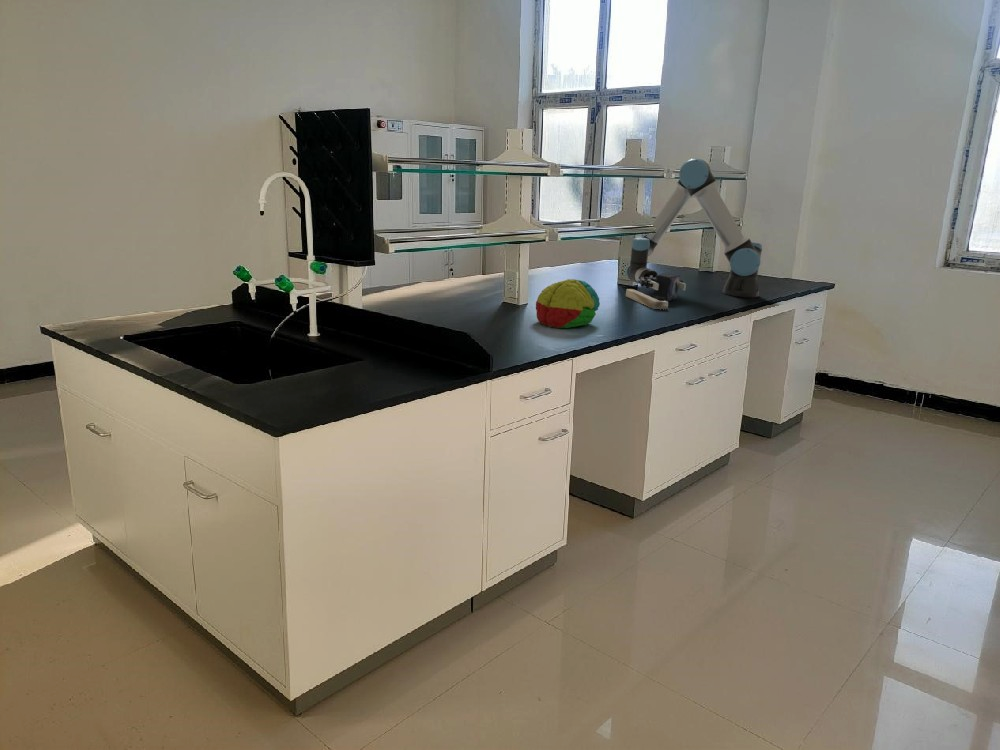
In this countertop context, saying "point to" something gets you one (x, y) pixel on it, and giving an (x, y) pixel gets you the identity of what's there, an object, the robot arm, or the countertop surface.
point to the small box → (667, 287)
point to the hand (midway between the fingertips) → (671, 287)
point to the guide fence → (646, 299)
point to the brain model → (567, 304)
